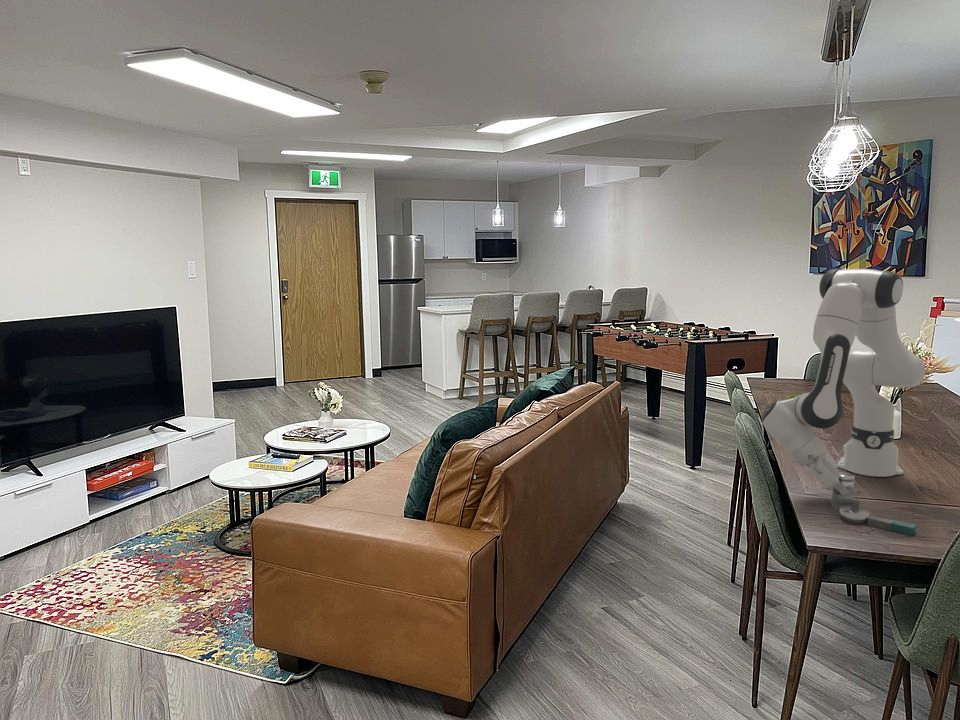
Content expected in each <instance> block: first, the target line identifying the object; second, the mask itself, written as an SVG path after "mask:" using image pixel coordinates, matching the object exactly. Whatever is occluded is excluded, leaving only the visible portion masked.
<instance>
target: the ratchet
mask: <svg viewBox="0 0 960 720" xmlns="http://www.w3.org/2000/svg"><path fill="white" fill-rule="evenodd" d="M860 503H861V501H860V499H858V498H854V499H852V498H851V506H843V507H841V508H840V509H839V513H838V514H839V515H838V517H839V518H840V519H841V520H840V519H839V520H840V521H842V522H844V523H846V524H850V525H855V524H856V526H863V525H862V524H865V525H867V524H868V525H867V526H870V525H871V526H872V527H875V526H876V527H875V528H879V527H880V529H884V530H886V531H887V530H888V531H890V532H894V533H899V534H902V535H903V534H904V535H908V536H911V537H912V536H914V535H915V534H916V533H917V524H914V523H911V522H910V523H909V522H904V521H901V520H897V519H888V518H883V517H879V516H875V515H871V513H870V511H869V510H867V508H866V509H865V508H862V507H860Z"/></svg>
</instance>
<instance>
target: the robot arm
mask: <svg viewBox="0 0 960 720" xmlns="http://www.w3.org/2000/svg"><path fill="white" fill-rule="evenodd" d="M903 292H904V281H903V279H902V277H901V276H900V275H899V274H898V273H896V272H893V271H889V270H884V271H883V270H878V269H872V268H832V269H829V270H827V271H826V272H825V273H824V274H823V275H822V277H821V279H820V282H819V294H820V296H821V298H822V300H821V303H820V306H819V308H818V311H817V314H816V317H815V321H814V323H813V324H814V325H813V331H812V332H813V333H812V339H813V342H814V344H815V345H816V347H817V348H818V350H819V351H820V363H819V367H818V371H817V375H816V380H815V384H814V386H813V388H812V390H811V391H809V392H804V393H802V394H798V395H799V396H797V397H794V398H791V399H788V398H787V399H783V400H775V401H773V402H772V403H771V404H770V405H769V406H768V407H767V408H766V409H765V410H764V412H763V413H762V416H761V423H762V426H763V427H764V428H765V430H766V431H767V432H768V433H769V435H770V436H771V437H772V438H773V439H774V440H775V441H776V443H778V444H780V445H781V446H783V448H784V449H785V451H786V453H787V454H788V455H789V456H790V457H791V458H792V459H793V460H794V461H795V462H796V463H797V464H798V465H799V466H800V467H804V466H806V467H807V468H809V470H810V473H812V474H813V476H814V477H815V478H816V479H817V481H819V483H821V485H822V486H823V487H824V488H825V489H827V490H832V488H833V487H834V488H835V489H836V490H838V491H839V492H840V493H841V494H842V495H846V494H847V493H848V489H847V488H846V487H845V486H843V485H842V484H841V483H840V481H839V478H838V472H839V471H838V468H839V469H842V470H845V471H849V472H851V473H852V474H853V473H854V474H856V475H857V474H858V475H861V476H867V477H880V478H882V477H883V478H886V477H891V476H892V477H893V476H896V475H904V470H903V469H902V467H901V468H900V467H899V465H898V464H899V463H898V462H899V459H898V457H899V448H898V447H897V445H895V443H894V439H895V430H894V428H893V427H894V418H895V417H894V416H895V407H894V405H893V403H892V402H891V401H890V400H889V399H888V398H886V397H884V396H883V395H881V394H880V393H879V392H878V391H877V389H876V386H880V387H886V388H887V387H888V388H897V389H899V388H900V389H901V388H903V389H904V388H915V387H918V385H919V384H920V383H921V382H922V381H923V379H924V377H925V374H926V366H925V363H924V361H923V359H921V357H919V356H918V355H916V354H915V353H913V352H912V351H910V349H908V347H907V346H906V345H905V344H904V343H903V341H902V340H901V338H900V336H899V333H898V327H897V311H896V310H897V309H896V305H898V303H899V302H900V301H901V299H902V296H903ZM855 337H856V338H855ZM855 339H857V340H858V342H860V343H861V344H862V345H864V346H866V347H868V348H869V349H862V348H861V349H860V348H854V349H852V346H853V343H854V342H855V341H854V340H855ZM843 384H844V385H845V386H846V388H847V389H848V391H849V393H850V395H851V397H852V401H853V425H851V429H850V433H851V434H850V437H851V438H850V439H849V440H848V441H847V442H845V444H843V445H842V452H844V453H843V456H842V457H841V458H840V459H839V461H838V462H836V460H835V459H834V457H833V456H832V455H831V454H830V452H829V451H828V450H827V446H826V444H825V443H824V442H823V441H822V440H821V439H820V438H819V437H818V436H817V435H816V434H815V432H813V430H814V429H824V430H825V429H829V428H831V427H833V426H835V425H836V424H838V423H839V421H840V420H842V419H841V418H842V416H843V413H844V408H843V407H844V406H843V402H842V401H843V400H842V386H843Z"/></svg>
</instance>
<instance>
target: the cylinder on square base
mask: <svg viewBox="0 0 960 720" xmlns="http://www.w3.org/2000/svg"><path fill="white" fill-rule="evenodd" d="M838 478H839V481H840V483H841V484H842V485H843V486H845V487H846V488H847V489H848V493H847V494H846V495H842V494H841V493H840V492H839V491H838V490H836V489H835V488H834V487H833V488H832V489H831V499H830V502H831V503H830V504H832V505H831V509H836V508H839V509H838V510H840V508H841V507H843V506H851V498H852V499H855V496H854V491H855V480H856V477H855V475H854V474H853V473H849V472H845V471H844V472H842V471H838Z"/></svg>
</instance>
